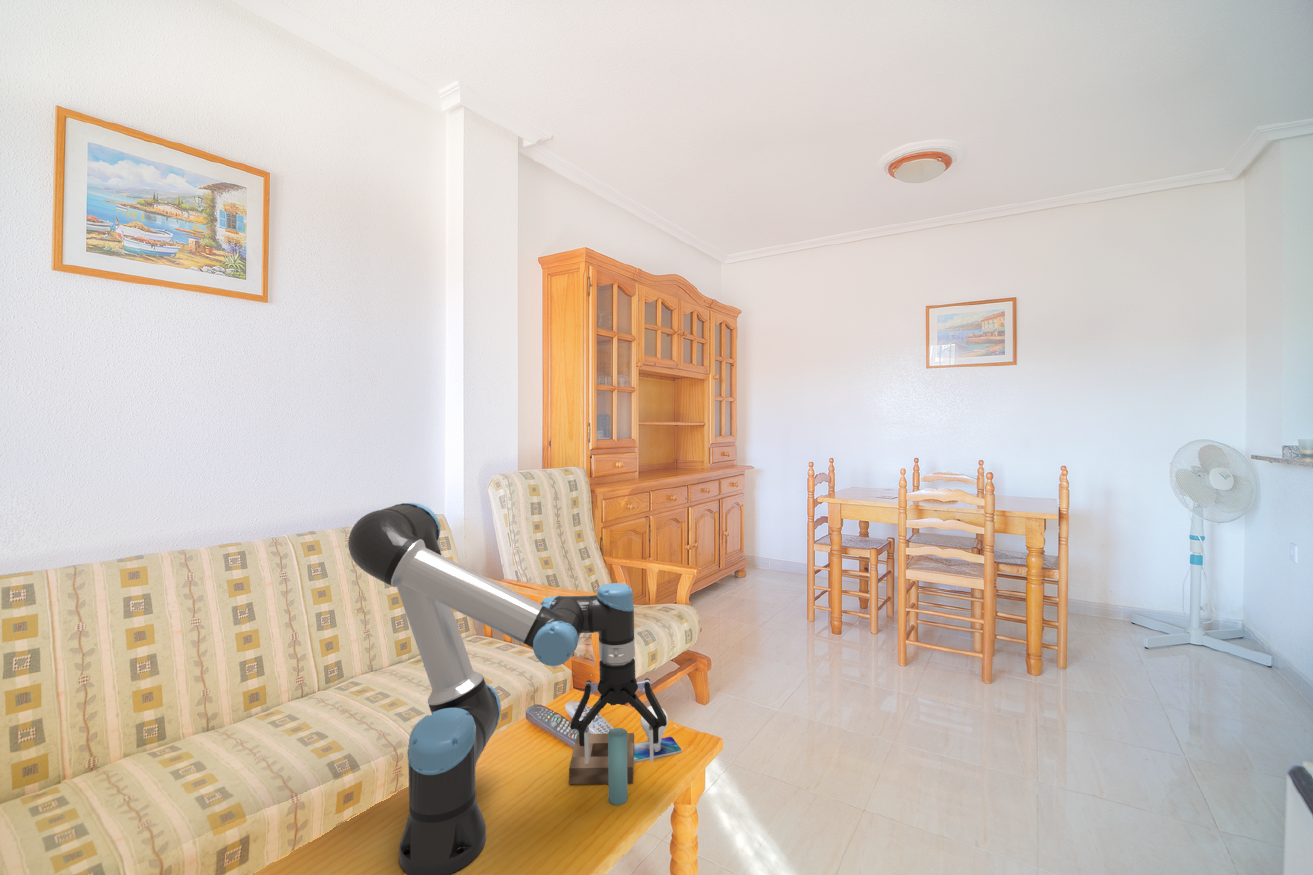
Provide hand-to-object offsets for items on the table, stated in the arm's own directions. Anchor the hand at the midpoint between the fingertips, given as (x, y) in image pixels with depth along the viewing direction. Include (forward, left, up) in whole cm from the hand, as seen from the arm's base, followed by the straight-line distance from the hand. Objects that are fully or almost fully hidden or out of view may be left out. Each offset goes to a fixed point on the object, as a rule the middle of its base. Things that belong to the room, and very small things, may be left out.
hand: (619, 759), depth 118 cm
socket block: (-4, +12, -8) cm, 15 cm away
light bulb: (+8, +17, -9) cm, 20 cm away
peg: (0, 0, -8) cm, 8 cm away
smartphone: (+6, +18, -9) cm, 21 cm away
